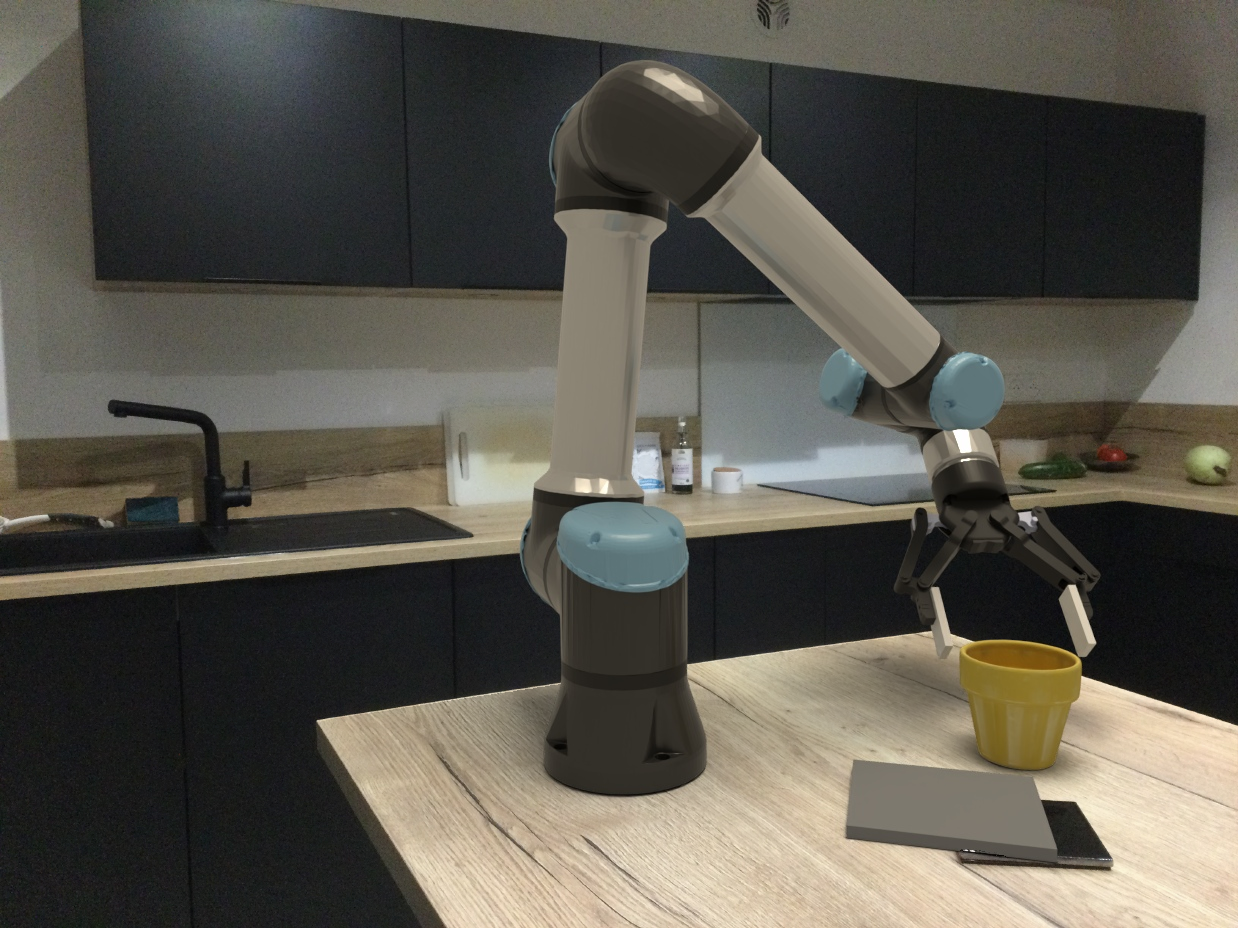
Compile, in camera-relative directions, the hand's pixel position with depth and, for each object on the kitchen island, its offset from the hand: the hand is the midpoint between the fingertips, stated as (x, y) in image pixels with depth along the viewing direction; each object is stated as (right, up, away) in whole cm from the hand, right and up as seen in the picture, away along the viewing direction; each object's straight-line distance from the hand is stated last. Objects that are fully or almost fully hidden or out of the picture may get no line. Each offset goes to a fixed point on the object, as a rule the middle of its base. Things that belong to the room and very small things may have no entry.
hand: (1016, 651), depth 93 cm
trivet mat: (-12, -10, -14) cm, 21 cm away
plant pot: (-1, -9, -3) cm, 10 cm away
